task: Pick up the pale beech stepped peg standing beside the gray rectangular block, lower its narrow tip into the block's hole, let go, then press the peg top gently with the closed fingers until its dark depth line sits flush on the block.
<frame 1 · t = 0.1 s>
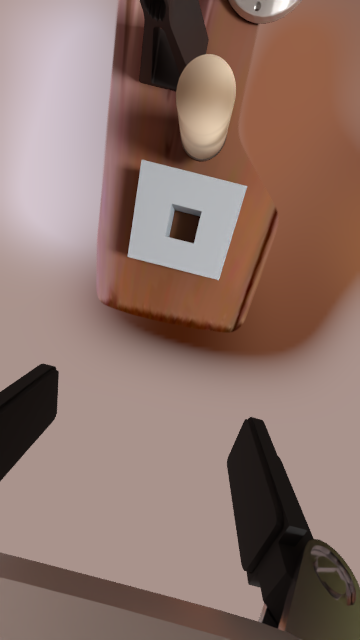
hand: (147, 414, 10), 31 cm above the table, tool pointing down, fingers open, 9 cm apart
beech peg: (202, 148, 32), on the table
phone stand: (173, 64, 29), on the table
gray rectangular block: (184, 227, 35), on the table
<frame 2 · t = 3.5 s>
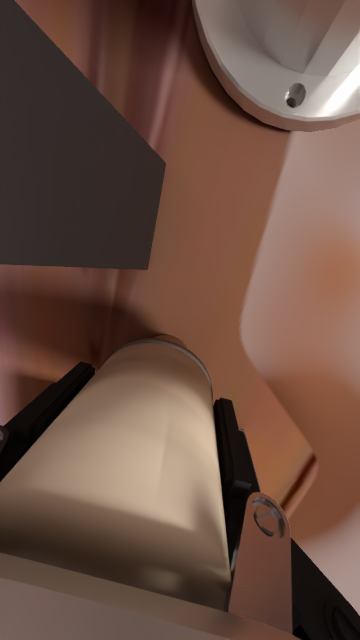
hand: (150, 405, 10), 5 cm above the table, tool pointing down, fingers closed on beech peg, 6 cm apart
beech peg: (165, 356, 15), on the table, touching gripper
phone stand: (89, 205, 13), on the table
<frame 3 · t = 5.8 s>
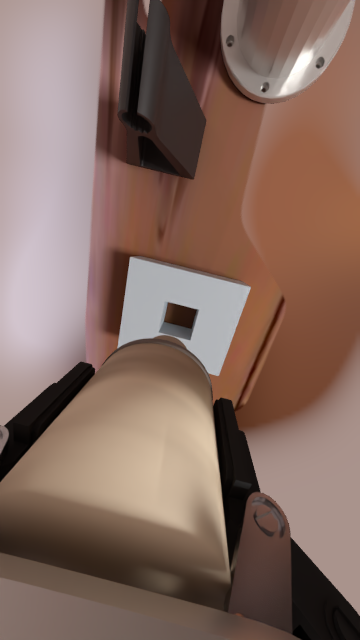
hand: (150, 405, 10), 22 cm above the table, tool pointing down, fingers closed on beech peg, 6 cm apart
beech peg: (165, 356, 15), point 17 cm above the table, touching gripper
phone stand: (165, 145, 25), on the table
gray rectangular block: (180, 312, 32), on the table
when the fingers open (8 cm above the table, at t = 8.5 s): beech peg drops 2 cm, resting on gray rectangular block.
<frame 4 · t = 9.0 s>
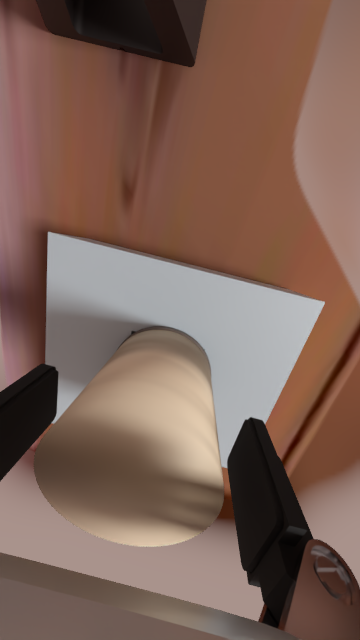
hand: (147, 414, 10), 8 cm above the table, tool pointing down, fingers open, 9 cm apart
beech peg: (169, 346, 17), resting on gray rectangular block
gray rectangular block: (169, 343, 17), on the table
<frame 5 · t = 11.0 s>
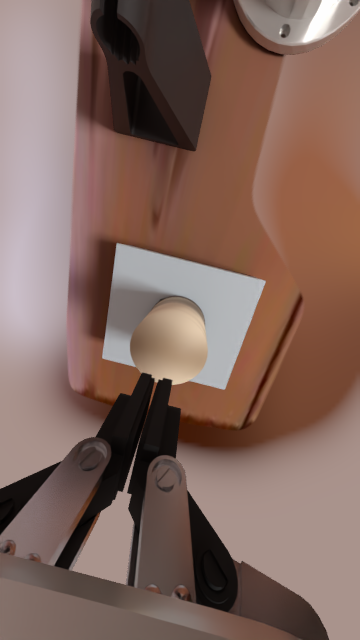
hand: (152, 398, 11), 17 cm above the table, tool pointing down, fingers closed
beech peg: (179, 313, 26), resting on gray rectangular block
phone stand: (161, 108, 21), on the table
gray rectangular block: (179, 312, 27), on the table
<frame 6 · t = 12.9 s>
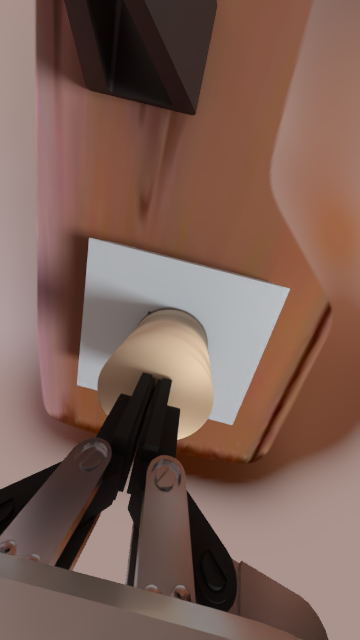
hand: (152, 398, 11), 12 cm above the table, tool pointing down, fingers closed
beech peg: (175, 327, 21), resting on gray rectangular block, touching gripper
phone stand: (149, 56, 15), on the table
gray rectangular block: (175, 326, 22), on the table
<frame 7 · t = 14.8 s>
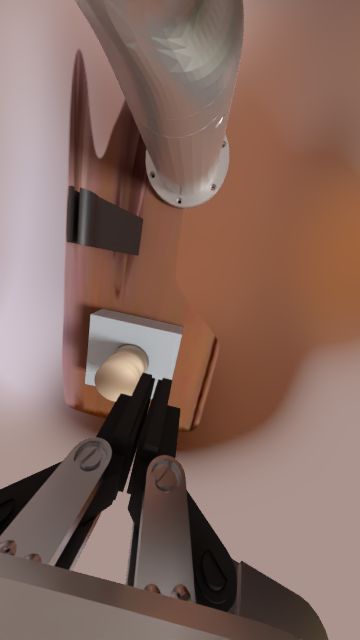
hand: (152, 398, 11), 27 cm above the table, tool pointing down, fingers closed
beech peg: (137, 351, 39), resting on gray rectangular block
phone stand: (116, 233, 34), on the table
gray rectangular block: (137, 350, 40), on the table
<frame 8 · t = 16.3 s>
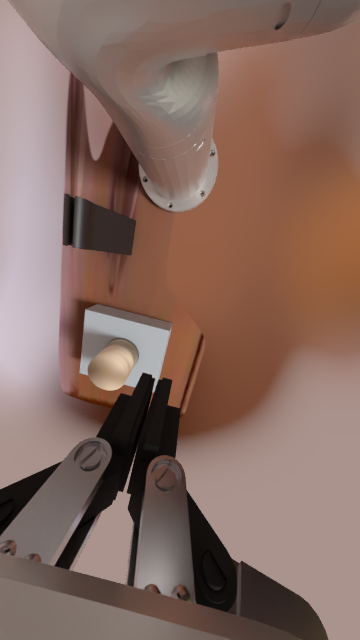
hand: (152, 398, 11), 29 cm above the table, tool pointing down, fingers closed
beech peg: (129, 344, 42), resting on gray rectangular block
phone stand: (110, 232, 36), on the table
gray rectangular block: (129, 343, 42), on the table
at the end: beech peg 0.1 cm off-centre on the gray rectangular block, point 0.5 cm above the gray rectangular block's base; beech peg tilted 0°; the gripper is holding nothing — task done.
